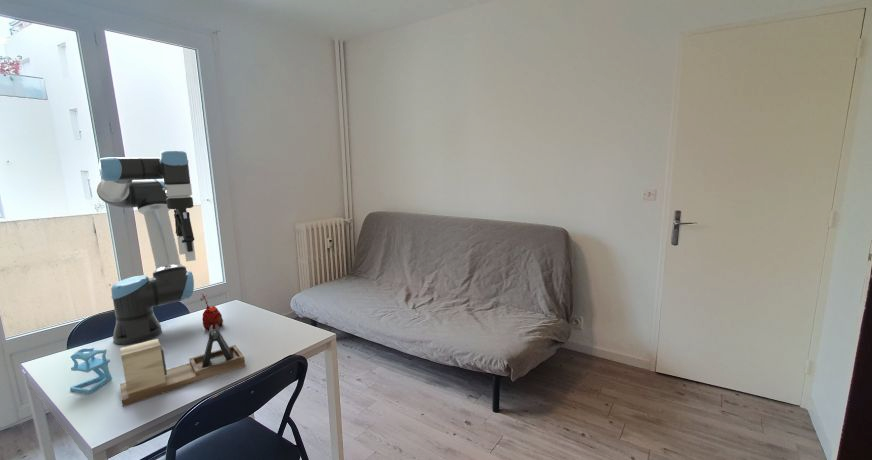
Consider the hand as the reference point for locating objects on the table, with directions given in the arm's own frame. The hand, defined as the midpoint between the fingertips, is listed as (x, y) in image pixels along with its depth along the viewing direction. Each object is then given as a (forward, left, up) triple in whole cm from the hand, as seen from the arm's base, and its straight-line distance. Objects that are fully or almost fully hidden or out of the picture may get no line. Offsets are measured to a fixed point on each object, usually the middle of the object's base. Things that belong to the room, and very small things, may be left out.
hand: (187, 257), depth 134 cm
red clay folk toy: (-18, +8, -35) cm, 40 cm away
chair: (+4, -29, -35) cm, 46 cm away
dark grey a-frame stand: (+19, +2, -33) cm, 38 cm away
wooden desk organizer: (+19, -7, -35) cm, 40 cm away
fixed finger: (+19, -17, -33) cm, 41 cm away
